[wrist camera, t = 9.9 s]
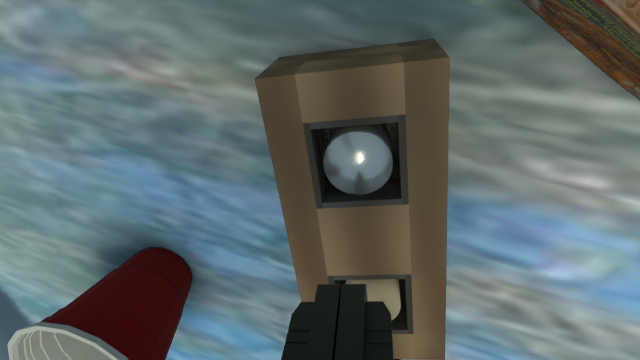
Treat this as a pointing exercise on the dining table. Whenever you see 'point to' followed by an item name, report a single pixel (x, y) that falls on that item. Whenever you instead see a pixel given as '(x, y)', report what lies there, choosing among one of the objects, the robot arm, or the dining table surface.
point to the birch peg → (383, 293)
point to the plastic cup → (115, 315)
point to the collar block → (376, 207)
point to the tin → (600, 33)
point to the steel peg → (359, 158)
